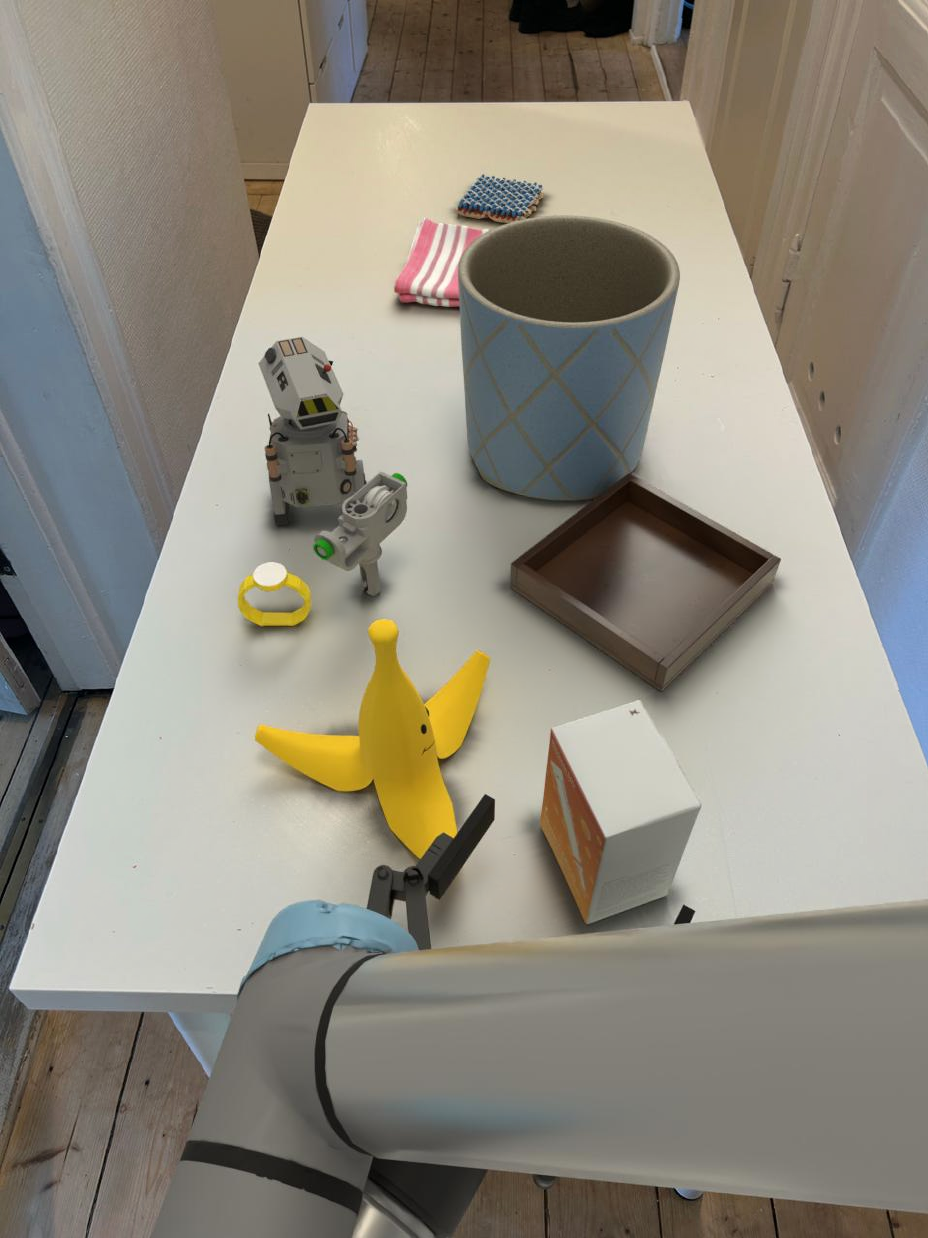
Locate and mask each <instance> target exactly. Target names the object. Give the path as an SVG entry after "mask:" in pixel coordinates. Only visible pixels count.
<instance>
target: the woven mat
mask: <svg viewBox="0 0 928 1238" xmlns="http://www.w3.org/2000/svg"><path fill="white" fill-rule="evenodd" d="M544 190H545V189H544V187H543V185H542V184H538V182H535V181H534V183H533V184H532V183H531V182H527V181H526V180H523V182H521V181H517V180H516V179H514V178H513V179H512V180H511V179H506V177H502V178H499V177H495V175H492V176H491V177H490V176H485V174H484V173H483V174H481V175H480V177H477V178H476V180H475V181H474V183H472V184H471V186H470V188H469V190H467V191H466V192H465V194H464V195H463V198H461V199H460V201H458V205H457V207H456V208H455V211H456V212H457V214H459V215H460V216H462V217H466V218H471V219H476V220H477V219H478V220H480V219H485V218H486V219H490V220H492V221H493V222H496V223H503V224H508V223H511V222H515V221H519V220H523V219H528V217H529V216H530V215H531V214H532V212H536V211H537V206H538V205H539V202H540V200H541V199H543V198H544V192H543V191H544Z"/></svg>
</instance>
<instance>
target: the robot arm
mask: <svg viewBox="0 0 928 1238" xmlns="http://www.w3.org/2000/svg"><path fill="white" fill-rule="evenodd" d="M495 812H496V799H495V798H494V797H491V796H490V795H489V794H486V793H484V794H483V796H482V797H481V799H480V800H479V802H478V803H477V804H476V806H475V807H474V809H473V811H471V813H470V815H469V816H468V817H467V819H465V821H464V823H463V824H462V826H461V827H460V829H459V830H457V834H456V836H455V837H454V838H452V837H451V836H449V835H447V834H446V833H444V832H443V833H442V834H440V835H439V836H437V837H436V838H435V840H434V841H433V842H432V844H431V845H430V847H429V848H428V850H427V851H426V852H425V854H424V855H423V856H422V858H421V859H420V858H419V860H418V862H417V863H416V865H410V866H408V867H406V868H405V869H404V871H399V870H395V869H392V868H391V867H390V866H389V865H386V864H381V865H378V866H377V867H376V868H375V869H374V870H373V873H372V877H371V883H370V889H369V893H368V899H367V903H366V904H367V905H366V908H365V907H363V906H359V905H356V904H351V903H345V902H341V903H338V904H335V903H331V902H327V901H324V900H321V899H310V900H303V901H298V902H295V903H292V904H289V905H287V906H286V907H284V908H283V909H281V910H280V911H278V913H277V914H276V915H275V916H274V917H273V918H272V919H271V921H270V923H269V925H268V926H267V929H266V931H265V932H264V933H265V934H264V935H263V938H262V940H261V942H260V944H259V947H258V949H257V951H256V953H255V956H254V958H253V961H252V962H251V965H250V966H249V969H248V971H247V972H246V975H243V977H242V978H241V982H240V983H239V988H238V992H237V994H236V1003H235V1006H234V1009H233V1011H232V1014H231V1016H230V1020H229V1022H228V1025H227V1028H226V1030H225V1033H224V1036H223V1039H222V1042H221V1044H220V1047H219V1050H218V1053H217V1056H216V1059H215V1062H214V1065H213V1066H212V1070H211V1072H210V1075H209V1078H208V1081H207V1083H206V1087H205V1089H204V1092H203V1094H202V1097H201V1100H200V1103H199V1106H198V1108H197V1111H196V1114H195V1117H194V1119H193V1123H192V1125H191V1128H190V1131H189V1134H188V1136H187V1139H186V1141H185V1145H184V1148H183V1150H182V1154H181V1156H180V1159H179V1161H178V1162H177V1164H176V1167H175V1170H174V1171H173V1175H172V1178H171V1180H170V1183H169V1185H168V1188H167V1191H166V1193H165V1196H164V1199H163V1201H162V1204H161V1206H160V1209H159V1211H158V1215H157V1217H156V1220H155V1223H154V1224H153V1225H154V1226H153V1228H152V1231H151V1233H150V1236H149V1238H453V1236H454V1234H455V1233H456V1230H457V1229H458V1228H459V1225H460V1224H461V1222H462V1219H463V1217H464V1216H465V1215H466V1212H467V1211H468V1209H469V1207H470V1205H471V1203H472V1201H473V1200H474V1197H475V1195H476V1194H477V1192H478V1190H479V1188H480V1187H481V1184H482V1182H483V1180H484V1179H485V1177H486V1175H487V1173H488V1172H489V1170H492V1171H501V1172H511V1173H521V1174H530V1175H532V1180H533V1183H534V1184H535V1186H536V1187H537V1188H539V1189H541V1190H546V1191H547V1190H549V1189H551V1188H552V1187H553V1186H555V1184H556V1182H557V1181H558V1179H559V1178H560V1177H561V1178H571V1179H578V1180H579V1179H581V1180H588V1181H589V1180H590V1181H600V1182H610V1183H619V1184H620V1183H621V1184H630V1185H639V1186H640V1185H641V1186H649V1187H659V1188H669V1189H670V1188H671V1189H679V1190H688V1191H689V1190H691V1191H699V1192H709V1193H719V1194H727V1195H728V1194H729V1195H740V1196H747V1197H748V1196H749V1197H760V1198H768V1199H778V1200H790V1201H799V1202H810V1203H819V1204H831V1205H838V1206H839V1205H840V1206H850V1207H858V1208H860V1207H861V1208H868V1209H880V1210H889V1211H898V1212H909V1213H919V1214H926V1215H927V1214H928V898H924V899H923V898H922V899H915V900H905V901H904V900H903V901H893V902H885V903H884V902H883V903H874V904H864V905H855V906H845V907H836V908H826V909H815V910H807V911H806V910H805V911H797V912H786V913H776V914H766V915H756V916H745V917H737V918H736V917H735V918H727V919H726V918H725V919H715V920H707V921H705V920H704V921H696V922H695V921H694V922H692V920H693V917H694V916H695V914H696V910H695V909H693V908H692V907H689V906H687V905H686V904H682V906H681V908H680V911H679V912H678V915H677V916H676V919H675V921H674V922H673V924H666V925H657V926H656V925H655V926H648V927H647V926H646V927H637V928H627V929H618V930H607V931H598V932H597V931H596V932H588V933H576V934H568V935H558V936H549V937H537V938H528V939H527V938H526V939H518V940H517V939H516V940H510V941H509V940H508V941H499V942H488V943H487V942H486V943H479V944H477V943H476V944H467V945H458V946H449V947H448V946H447V947H438V948H432V942H431V933H430V924H429V913H428V906H427V898H426V897H427V895H428V894H429V895H430V896H432V897H433V898H435V899H437V900H438V901H441V899H442V898H443V896H444V895H445V893H446V892H447V890H448V889H449V888H450V886H451V885H452V883H453V881H454V880H455V878H456V877H457V876H458V874H459V873H460V871H461V870H462V869H463V868H464V865H465V864H466V862H467V861H468V860H469V858H470V857H471V855H472V854H473V852H474V851H475V849H476V847H478V845H479V843H480V842H481V841H482V839H483V838H484V836H485V835H486V833H487V832H488V830H489V829H490V827H491V826H492V824H493V823H494V821H495V819H496V818H495V816H496V813H495ZM395 901H401V902H405V909H406V911H405V912H406V920H407V929H406V928H404V927H403V925H401V924H399V923H398V922H396V921H395V920H393V919H392V918H393V912H394V911H393V910H394V905H395Z"/></svg>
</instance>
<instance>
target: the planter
mask: <svg viewBox="0 0 928 1238" xmlns="http://www.w3.org/2000/svg"><path fill="white" fill-rule="evenodd" d="M489 230H490V231H488V232H486V233H484V234H483V235H481V236H480V237H478V238H477V239H475V240H474V241H473V242H472V243H471V244H470V245H469V246H468V247H467V248H466V249H465V251H464V252H463V254H462V256H461V258H460V261H459V265H458V285H459V305H460V306H459V321H460V325H459V326H460V343H461V356H462V357H461V359H462V360H461V361H462V372H463V375H462V376H463V391H464V408H465V423H466V438H467V440H466V441H467V445H468V449H469V453H470V456H471V458H472V461H473V462H474V464H475V466H476V468H477V471H478V473H479V474H480V477H481V478H482V479H483V480H484V481H485V482H486V483H487V484H489V485H491V486H493V487H494V488H497V489H500V490H503V491H506V492H509V493H512V494H515V495H520V496H523V497H527V498H533V499H539V500H548V501H581V500H582V501H583V500H594V499H595V498H597V497H598V496H599V495H601V494H602V493H603V492H605V491H606V490H607V489H608V488H610V487H611V486H612V485H614V484H615V483H616V482H618V481H619V480H620V479H621V478H623V477H624V476H625V475H627V474H628V473H630V474H631V473H632V472H633V471H634V470H635V469H636V467H637V465H638V464H639V462H640V459H641V457H642V454H643V450H644V447H645V443H646V439H647V433H648V429H649V424H650V421H651V416H652V411H653V406H654V402H655V399H656V398H655V397H656V392H657V387H658V384H659V379H660V375H661V371H662V367H663V361H664V358H665V352H666V350H667V349H666V348H667V344H668V338H669V333H670V328H671V324H672V320H673V314H674V310H675V305H676V301H677V296H678V291H679V287H680V286H679V285H680V281H681V271H680V266H679V263H678V261H677V259H676V257H675V255H674V254H673V253H672V251H671V250H670V249H669V248H668V247H667V246H666V245H665V244H663V243H662V242H661V241H660V240H658V239H657V238H655V237H653V236H652V235H650V234H648V233H646V232H644V231H642V230H640V229H637V228H635V227H633V226H631V225H628V224H624V223H620V222H617V221H613V220H609V219H605V218H599V217H594V216H593V217H592V216H584V215H567V214H566V215H564V214H563V215H561V214H560V215H545V216H534V217H529V218H528V217H527V219H523V220H519V221H515V222H511V223H504V224H502V225H499V226H496V227H494V228H493V229H489Z"/></svg>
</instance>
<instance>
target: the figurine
mask: <svg viewBox="0 0 928 1238" xmlns="http://www.w3.org/2000/svg"><path fill="white" fill-rule="evenodd" d="M333 363H334V360H329V359H328V356H327V354H326V351H324V350H323V349H322V348H320V347H319V346H317V345H315V344H314V343H313V342H311V341H309V339H307V338H305V337H304V336H298V337H293V338H286V339H281V340H276V341H275V342H274V343H273V344H272V346H271V347H269V348H268V349H267V350H265V352H264V355H263V357H262V358H261V360H260V361H259V362H258V366H259V369H260V372H261V375H262V377H263V380H264V382H265V385H266V388H267V390H268V393H269V395H270V398H271V401H272V404H273V407H274V408H275V410H276V411H277V413H278V415H279V416H278V417H276V418H274V419H273V421H272V420H271V415H270V413H267V418H268V422H269V423H268V424H269V429H268V430H269V432H270V434H269V438H268V439H269V440H268V444H267V445H265V446H264V456H265V460H266V469H267V472H268V482H269V490H270V496H271V502H272V506H273V519H274V525H275V526H280V525H288V524H289V515H290V514H289V513H290V505H291V506H293V507H296V508H304V507H316V506H330V505H339V504H341V503H344V501H345V500H346V499H348V498H349V497H351V496H353V495H354V494H355V493H357V492H358V491H359V490H360V489H361V488H362V487H363V486H365V485H366V484H367V483H368V482H367V479H366V474H365V469H364V461H363V459H357V457H356V455H355V453H357V451H358V447H357V446H358V443H357V442H358V441H360V438H359V436H358V431H359V429H358V428H357V427H356V426H354V424H353V422H352V421H351V420H349V417H348V413H347V411H344V410H342V408H341V402H342V400H343V396H344V391H343V389H342V387H341V385H340V383H339V381H338V378H337V376H336V374H335V372H334V369H333V367H332V366H333ZM366 494H367V493H366ZM364 497H365V496H364ZM362 503H363V502H362Z"/></svg>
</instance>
